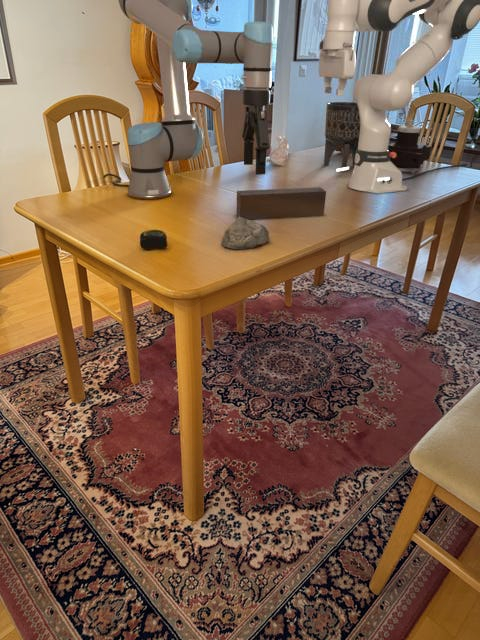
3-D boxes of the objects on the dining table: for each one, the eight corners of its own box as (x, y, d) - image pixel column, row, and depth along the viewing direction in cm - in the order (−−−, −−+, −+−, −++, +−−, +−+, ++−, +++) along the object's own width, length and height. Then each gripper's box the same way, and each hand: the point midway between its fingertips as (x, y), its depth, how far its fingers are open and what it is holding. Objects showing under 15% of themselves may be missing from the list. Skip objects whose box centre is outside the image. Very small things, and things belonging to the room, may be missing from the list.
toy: (334, 147, 234) (333, 142, 247) (337, 160, 237) (336, 154, 250) (356, 140, 231) (354, 135, 243) (359, 153, 234) (356, 147, 246)
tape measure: (140, 252, 115) (139, 238, 113) (141, 242, 120) (140, 229, 119) (167, 251, 116) (166, 237, 114) (167, 241, 121) (166, 228, 120)
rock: (255, 233, 128) (256, 211, 124) (276, 242, 122) (278, 219, 119) (217, 244, 120) (217, 220, 117) (239, 254, 115) (239, 230, 111)
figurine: (292, 163, 215) (294, 134, 209) (276, 168, 204) (278, 138, 198) (278, 161, 219) (279, 133, 212) (261, 166, 208) (262, 136, 202)
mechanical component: (377, 119, 195) (405, 114, 215) (369, 169, 206) (397, 160, 225) (427, 124, 183) (452, 118, 203) (415, 177, 194) (441, 167, 213)
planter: (313, 167, 208) (319, 103, 195) (331, 160, 222) (338, 101, 209) (353, 173, 199) (362, 107, 185) (369, 166, 213) (379, 104, 199)
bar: (317, 211, 149) (320, 187, 145) (323, 215, 145) (326, 191, 141) (236, 215, 143) (236, 190, 139) (240, 220, 139) (240, 195, 135)
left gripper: (233, 86, 134) (232, 161, 144) (255, 92, 113) (252, 179, 123) (257, 86, 135) (255, 160, 146) (284, 92, 114) (279, 178, 125)
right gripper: (364, 42, 129) (356, 96, 136) (335, 44, 146) (330, 92, 153) (343, 42, 128) (337, 96, 135) (317, 43, 145) (312, 92, 152)
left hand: (254, 169), depth 135 cm, fingers open, 13 cm apart
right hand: (333, 94), depth 144 cm, fingers open, 8 cm apart
